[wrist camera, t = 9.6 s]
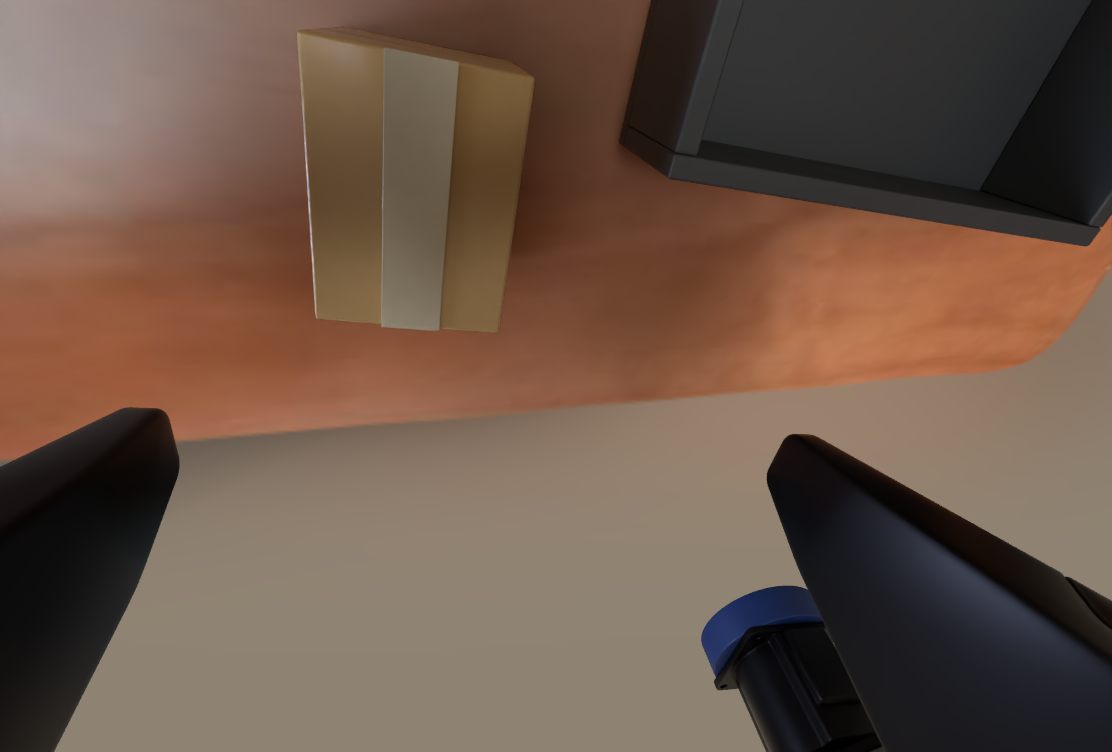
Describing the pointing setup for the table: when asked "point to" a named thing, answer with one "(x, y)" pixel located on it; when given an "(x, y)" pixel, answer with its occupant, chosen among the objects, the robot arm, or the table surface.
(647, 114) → the bin
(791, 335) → the table surface
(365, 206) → the package
